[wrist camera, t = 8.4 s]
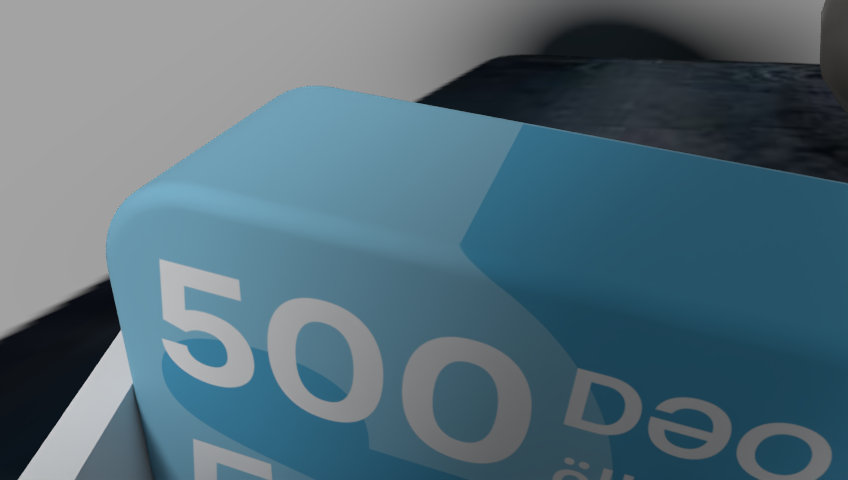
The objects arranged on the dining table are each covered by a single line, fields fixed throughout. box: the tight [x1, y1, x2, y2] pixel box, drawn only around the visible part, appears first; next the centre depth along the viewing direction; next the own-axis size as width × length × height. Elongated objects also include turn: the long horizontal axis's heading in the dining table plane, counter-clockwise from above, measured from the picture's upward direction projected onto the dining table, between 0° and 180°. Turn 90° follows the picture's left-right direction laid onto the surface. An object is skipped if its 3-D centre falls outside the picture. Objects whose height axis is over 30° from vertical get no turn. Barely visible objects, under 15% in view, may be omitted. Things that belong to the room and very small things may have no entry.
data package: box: [106, 86, 848, 480], centre depth 13 cm, size 12×4×12 cm, turn 72°
